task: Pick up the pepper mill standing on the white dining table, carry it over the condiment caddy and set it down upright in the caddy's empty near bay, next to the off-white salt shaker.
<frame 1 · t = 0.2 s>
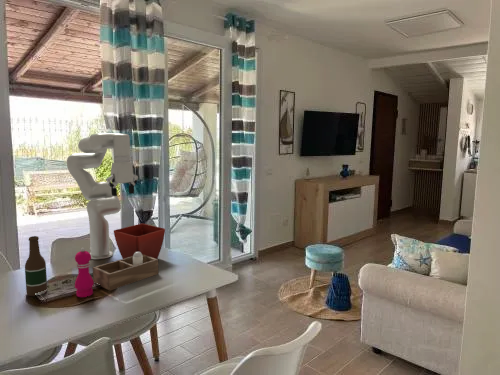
hand: (123, 194, 182), 37 cm above the table, tool pointing down, fingers open, 9 cm apart
plant pot: (140, 260, 197), on the table
beer bottle: (37, 293, 155), on the table
pepper mill: (84, 294, 155), on the table
salt shaker: (138, 274, 175), point 1 cm above the table, touching caddy
caddy: (127, 280, 170), on the table
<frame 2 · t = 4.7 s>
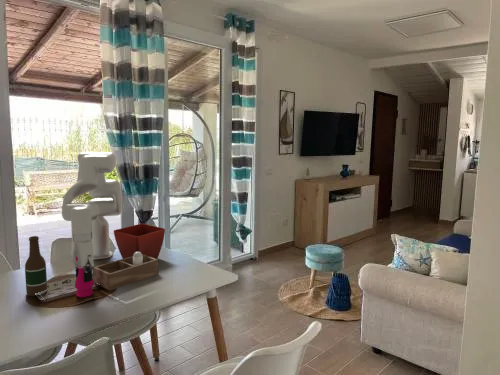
hand: (84, 278, 153), 7 cm above the table, tool pointing down, fingers closed on pepper mill, 5 cm apart
pepper mill: (84, 294, 155), on the table, touching gripper
everything else where it was.
when the fingers open (9 cm above the table, at t = 12.1 s): pepper mill drops 1 cm, resting on caddy.
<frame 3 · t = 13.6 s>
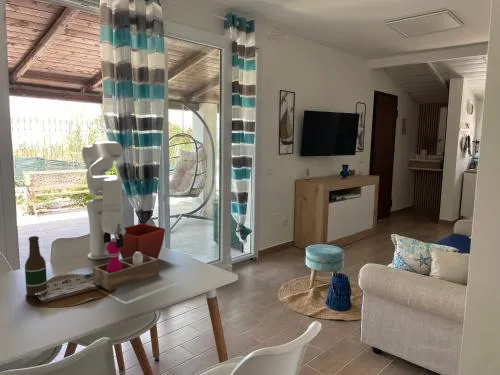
hand: (113, 244, 164), 18 cm above the table, tool pointing down, fingers open, 9 cm apart
pepper mill: (114, 281, 166), point 1 cm above the table, touching caddy
everything else where it was.
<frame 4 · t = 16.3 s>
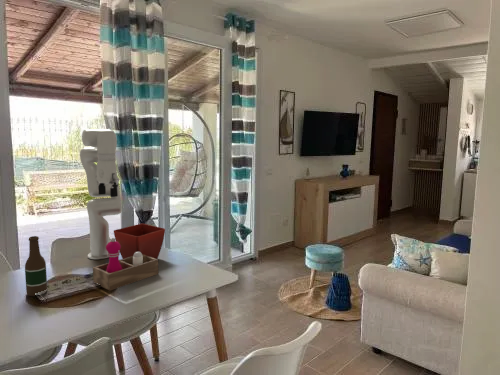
hand: (108, 195, 169), 38 cm above the table, tool pointing down, fingers open, 9 cm apart
nothing on the table moved.
at the end: pepper mill inside the target area on the caddy (0.4 cm from its centre), point 0.8 cm above the caddy's base; pepper mill tilted 1°; the gripper is holding nothing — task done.
